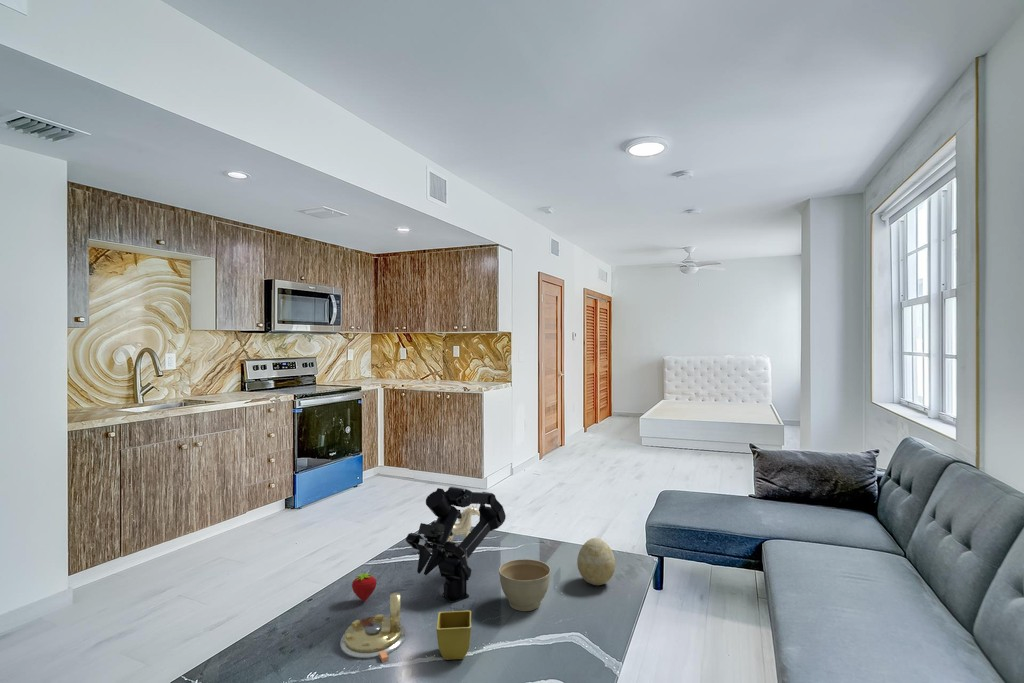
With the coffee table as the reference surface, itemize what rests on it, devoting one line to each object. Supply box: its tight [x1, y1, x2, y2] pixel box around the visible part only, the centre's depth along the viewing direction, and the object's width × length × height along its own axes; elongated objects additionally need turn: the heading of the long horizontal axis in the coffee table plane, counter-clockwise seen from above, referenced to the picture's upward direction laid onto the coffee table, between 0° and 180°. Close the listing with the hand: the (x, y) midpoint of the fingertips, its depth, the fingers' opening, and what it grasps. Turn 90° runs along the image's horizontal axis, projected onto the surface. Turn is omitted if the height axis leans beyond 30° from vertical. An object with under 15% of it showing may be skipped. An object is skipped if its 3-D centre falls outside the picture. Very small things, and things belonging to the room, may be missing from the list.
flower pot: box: [436, 610, 472, 661], centre depth 131 cm, size 9×9×9 cm
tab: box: [378, 651, 389, 663], centre depth 129 cm, size 3×2×1 cm, turn 31°
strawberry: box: [351, 571, 378, 602], centre depth 159 cm, size 6×8×10 cm
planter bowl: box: [498, 558, 552, 612], centre depth 157 cm, size 16×16×11 cm
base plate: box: [339, 623, 406, 660], centre depth 138 cm, size 17×17×4 cm
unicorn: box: [447, 504, 480, 543], centre depth 202 cm, size 20×4×17 cm, turn 111°
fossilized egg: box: [576, 537, 616, 586], centre depth 171 cm, size 13×13×15 cm
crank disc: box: [343, 592, 402, 653], centre depth 138 cm, size 15×15×11 cm
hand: (421, 573), depth 148 cm, fingers open, 2 cm apart
